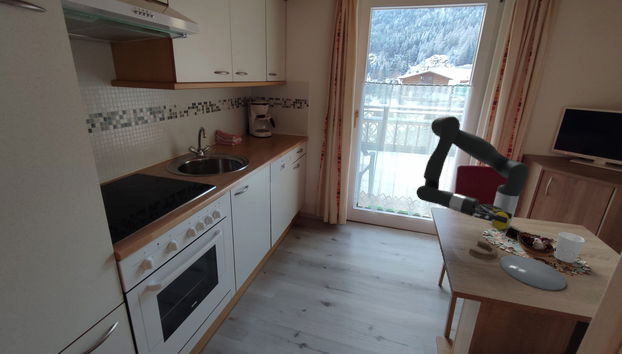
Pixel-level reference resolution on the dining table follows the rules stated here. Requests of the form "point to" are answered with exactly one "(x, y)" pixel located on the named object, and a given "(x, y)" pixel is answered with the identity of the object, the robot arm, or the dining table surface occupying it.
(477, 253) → the lemon holder
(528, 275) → the plate
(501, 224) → the lemon
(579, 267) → the dining table surface
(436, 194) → the robot arm
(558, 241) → the white cup
